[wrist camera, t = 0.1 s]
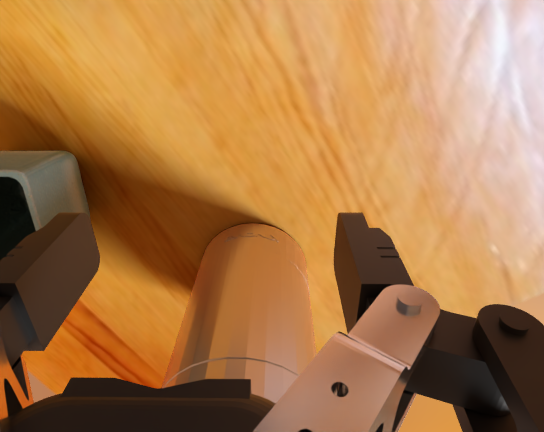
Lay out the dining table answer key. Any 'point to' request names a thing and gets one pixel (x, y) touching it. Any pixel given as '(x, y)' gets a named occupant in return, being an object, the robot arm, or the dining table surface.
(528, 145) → the dining table surface
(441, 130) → the dining table surface
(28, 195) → the flower pot
